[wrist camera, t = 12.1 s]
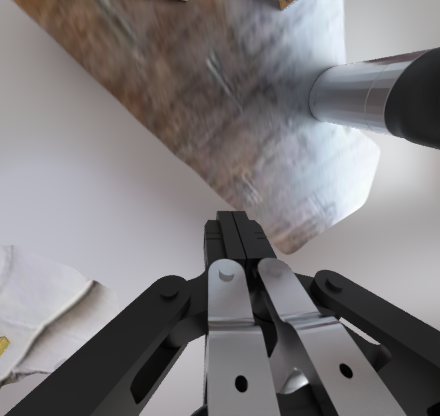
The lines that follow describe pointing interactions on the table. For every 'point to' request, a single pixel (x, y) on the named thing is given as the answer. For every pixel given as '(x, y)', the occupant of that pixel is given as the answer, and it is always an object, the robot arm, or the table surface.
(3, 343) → the candy box
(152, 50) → the table surface
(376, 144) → the table surface
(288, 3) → the small box
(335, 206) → the table surface
